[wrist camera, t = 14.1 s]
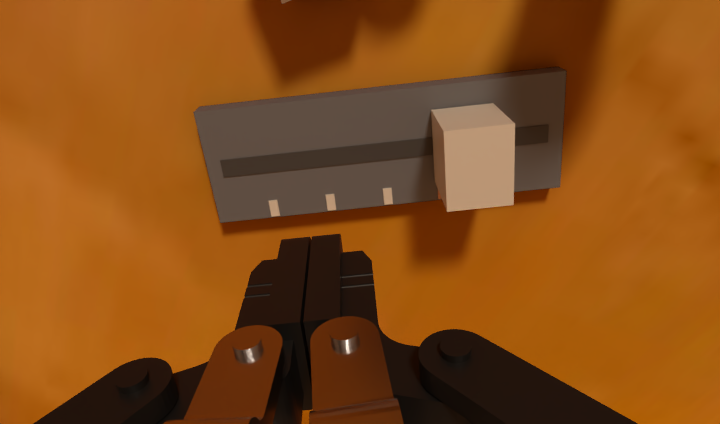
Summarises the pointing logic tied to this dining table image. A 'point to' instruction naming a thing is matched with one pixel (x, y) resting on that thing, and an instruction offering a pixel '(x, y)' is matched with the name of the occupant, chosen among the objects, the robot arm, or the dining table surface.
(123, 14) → the dining table surface
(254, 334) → the robot arm
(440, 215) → the dining table surface
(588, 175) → the dining table surface
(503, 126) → the knob
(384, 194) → the board
